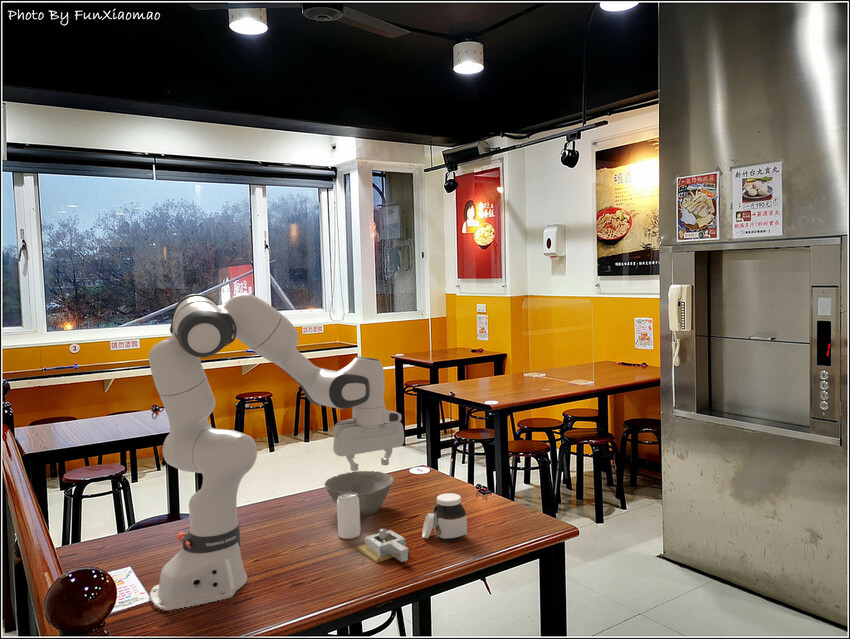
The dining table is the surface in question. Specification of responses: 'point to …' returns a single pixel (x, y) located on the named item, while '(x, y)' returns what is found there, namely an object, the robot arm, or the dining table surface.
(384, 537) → the post
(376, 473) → the ceramic bowl
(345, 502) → the can
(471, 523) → the dining table surface
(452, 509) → the spread jar
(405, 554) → the grey square frame handle
